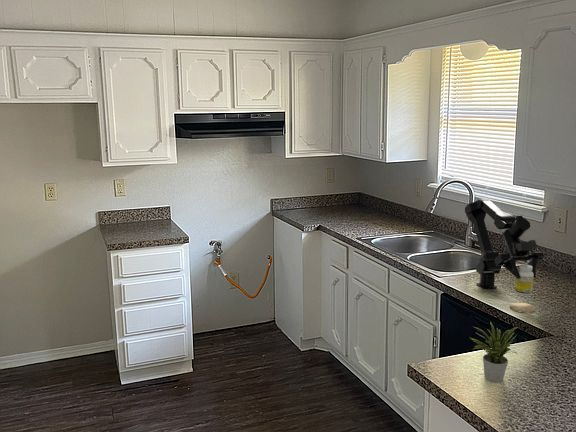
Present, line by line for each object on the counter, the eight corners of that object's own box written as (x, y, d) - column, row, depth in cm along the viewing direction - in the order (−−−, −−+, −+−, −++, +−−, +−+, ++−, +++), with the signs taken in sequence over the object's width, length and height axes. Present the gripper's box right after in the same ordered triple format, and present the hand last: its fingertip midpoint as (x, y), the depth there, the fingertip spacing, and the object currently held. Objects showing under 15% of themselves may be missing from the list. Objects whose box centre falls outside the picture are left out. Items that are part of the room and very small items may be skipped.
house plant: (491, 361, 184) (495, 312, 181) (530, 379, 173) (535, 327, 169) (460, 373, 176) (464, 322, 173) (498, 392, 165) (503, 338, 162)
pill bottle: (520, 289, 233) (522, 262, 230) (534, 293, 228) (537, 266, 226) (511, 292, 229) (514, 265, 226) (526, 297, 224) (529, 269, 222)
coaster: (505, 305, 233) (505, 303, 233) (525, 303, 235) (525, 301, 235) (518, 313, 224) (518, 311, 224) (539, 311, 226) (539, 309, 226)
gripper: (501, 233, 225) (514, 269, 217) (544, 231, 229) (559, 267, 221) (488, 247, 235) (501, 283, 226) (530, 245, 238) (544, 280, 230)
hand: (526, 278), depth 226 cm, fingers closed on pill bottle, 6 cm apart
